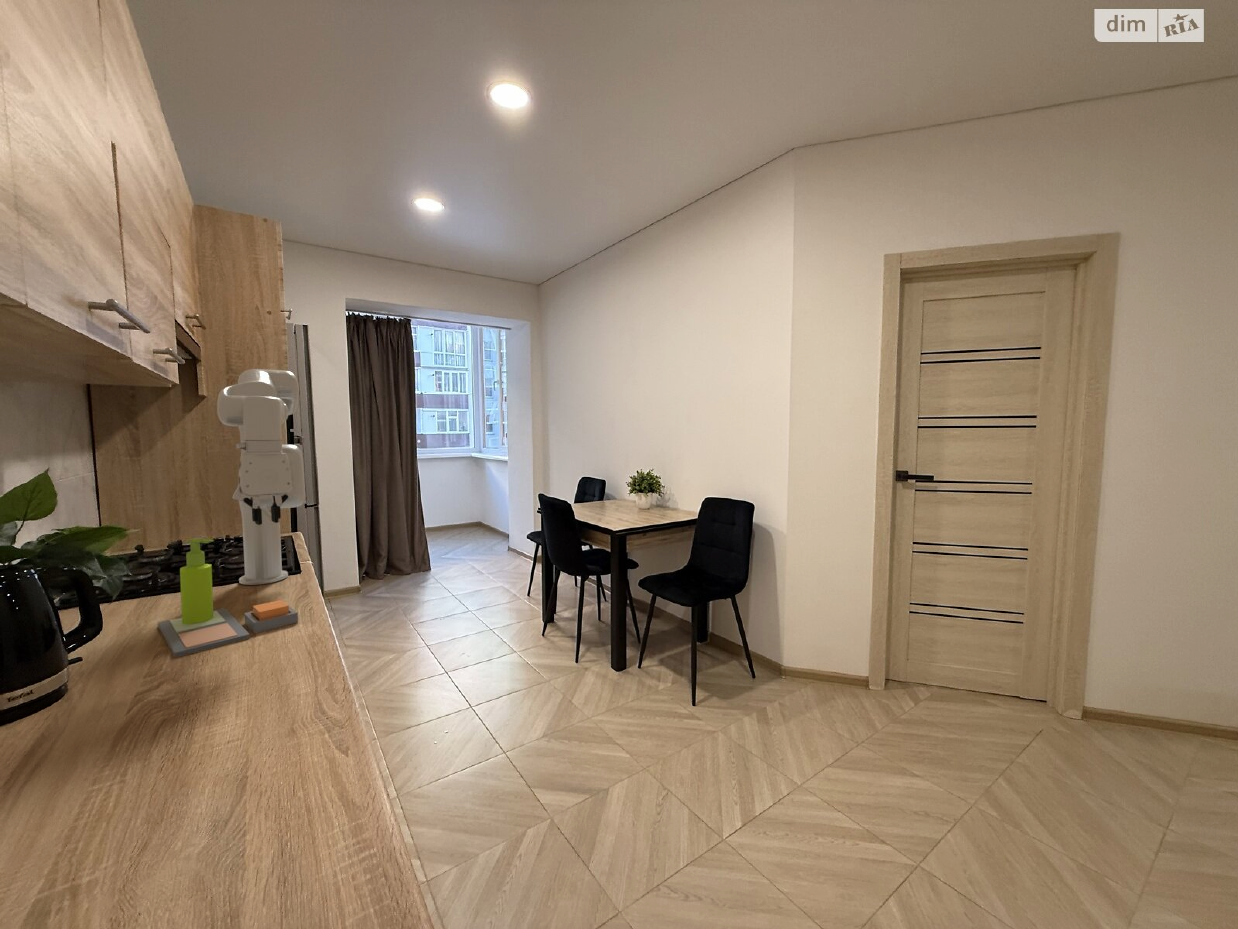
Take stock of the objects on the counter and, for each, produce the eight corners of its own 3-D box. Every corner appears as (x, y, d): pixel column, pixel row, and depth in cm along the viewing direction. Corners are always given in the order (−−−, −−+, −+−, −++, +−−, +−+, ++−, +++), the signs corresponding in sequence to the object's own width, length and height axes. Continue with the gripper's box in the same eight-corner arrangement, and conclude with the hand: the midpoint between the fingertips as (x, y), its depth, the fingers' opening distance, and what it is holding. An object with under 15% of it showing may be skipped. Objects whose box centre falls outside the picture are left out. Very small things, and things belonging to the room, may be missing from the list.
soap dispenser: (204, 624, 120) (201, 541, 119) (175, 623, 120) (172, 541, 119) (223, 615, 126) (220, 536, 125) (196, 614, 126) (193, 535, 125)
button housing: (244, 623, 125) (244, 613, 124) (286, 613, 131) (286, 603, 131) (254, 633, 119) (254, 623, 118) (298, 622, 125) (297, 612, 125)
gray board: (158, 626, 122) (158, 621, 122) (225, 611, 132) (225, 607, 132) (174, 657, 106) (174, 652, 106) (249, 638, 116) (249, 633, 116)
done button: (253, 614, 125) (252, 606, 124) (281, 607, 129) (281, 599, 129) (259, 620, 121) (259, 612, 120) (288, 613, 125) (288, 605, 125)
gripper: (225, 449, 113) (229, 530, 114) (306, 447, 125) (309, 520, 127) (217, 448, 118) (221, 525, 119) (296, 446, 130) (299, 516, 132)
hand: (266, 522), depth 123 cm, fingers open, 2 cm apart
